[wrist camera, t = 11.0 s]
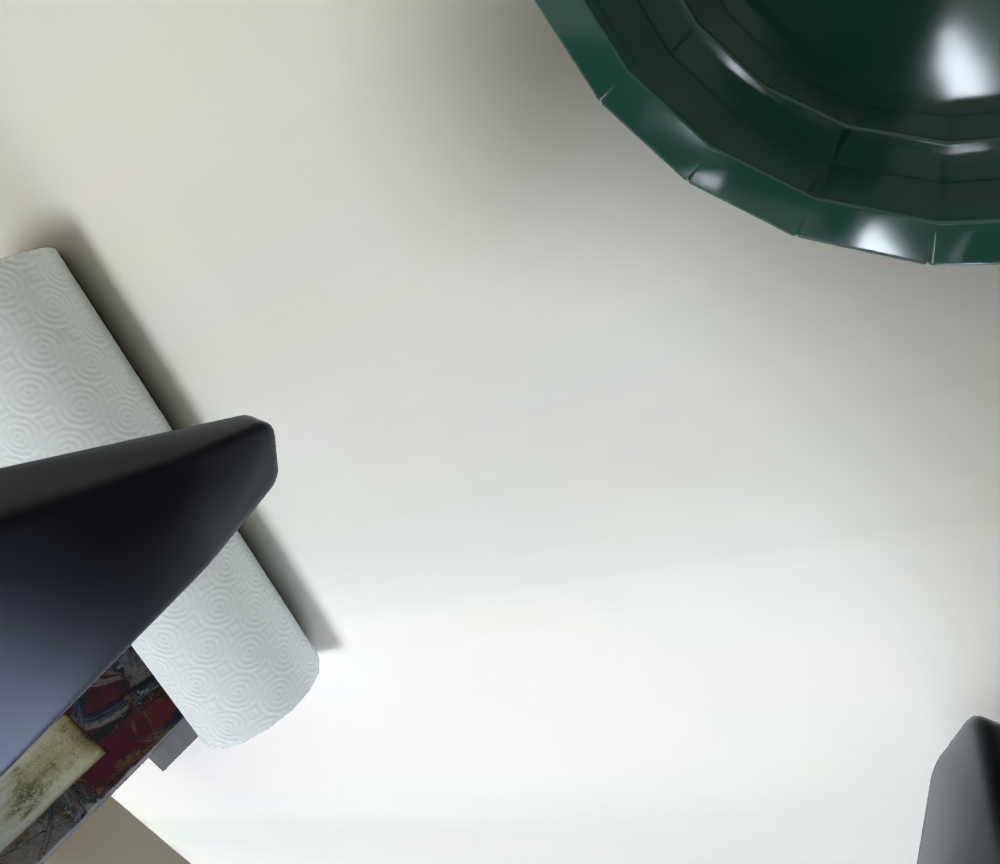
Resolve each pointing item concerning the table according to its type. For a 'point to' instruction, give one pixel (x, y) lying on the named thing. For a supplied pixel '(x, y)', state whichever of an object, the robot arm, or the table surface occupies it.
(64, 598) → the robot arm
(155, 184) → the table surface
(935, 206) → the bowl
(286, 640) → the paper towel roll
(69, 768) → the row of books
